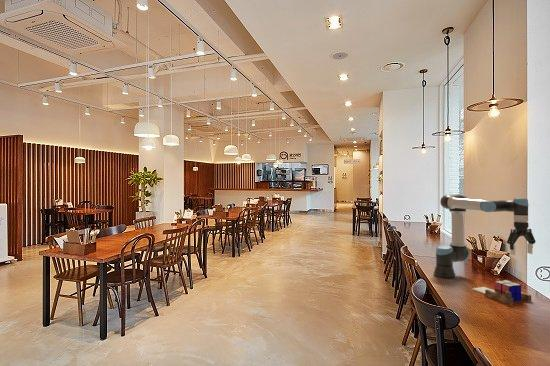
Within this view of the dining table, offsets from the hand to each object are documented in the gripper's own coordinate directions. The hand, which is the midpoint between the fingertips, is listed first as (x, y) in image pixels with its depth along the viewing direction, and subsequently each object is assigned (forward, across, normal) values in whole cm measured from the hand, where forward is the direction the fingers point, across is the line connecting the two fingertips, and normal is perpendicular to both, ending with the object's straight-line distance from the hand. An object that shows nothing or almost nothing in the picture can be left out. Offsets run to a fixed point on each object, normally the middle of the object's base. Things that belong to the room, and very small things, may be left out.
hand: (521, 254), depth 200 cm
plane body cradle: (+27, -13, -2) cm, 30 cm away
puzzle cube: (+28, -13, -2) cm, 31 cm away
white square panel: (+27, -16, +12) cm, 34 cm away
